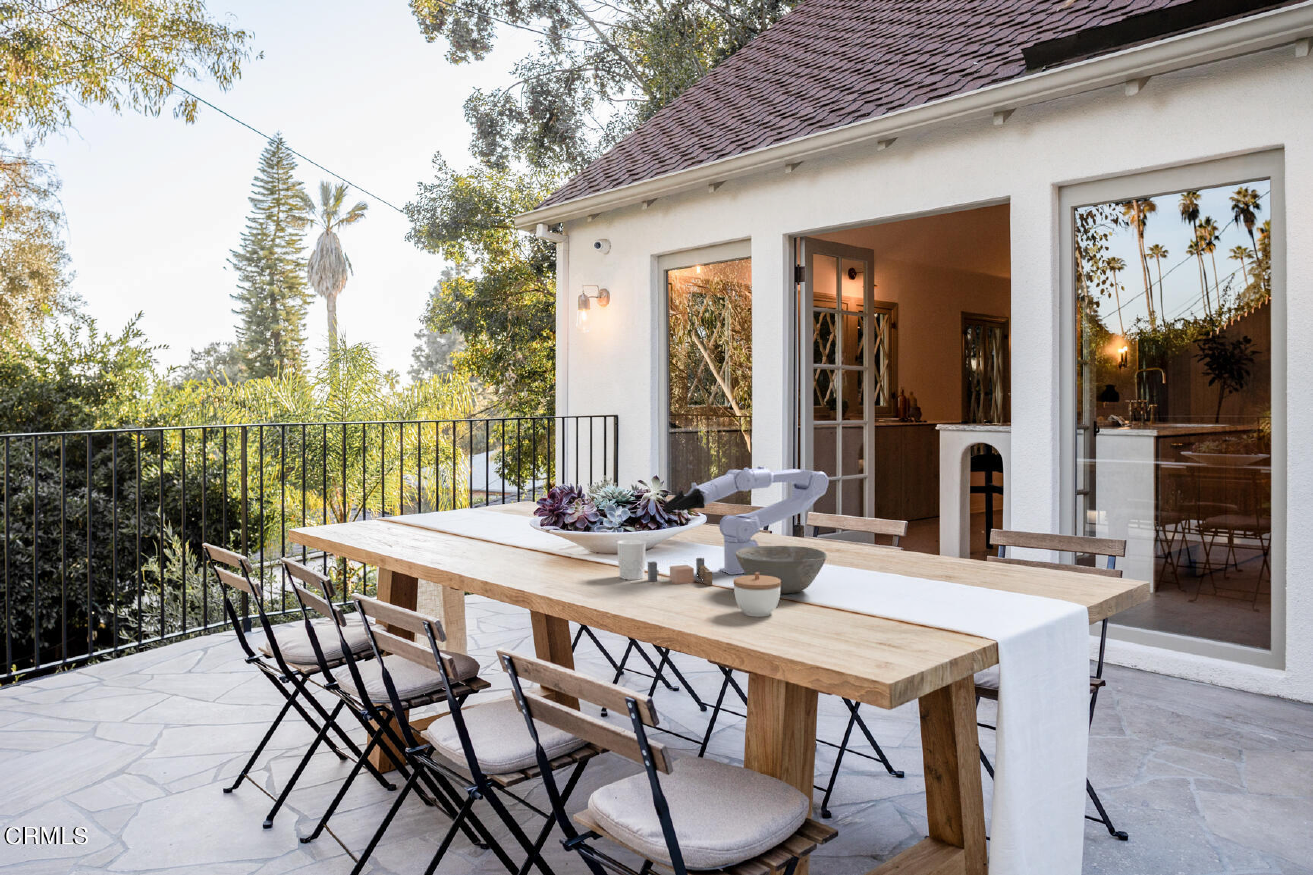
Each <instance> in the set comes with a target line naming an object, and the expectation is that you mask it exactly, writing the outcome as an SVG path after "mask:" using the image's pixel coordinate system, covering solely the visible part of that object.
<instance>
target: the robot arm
mask: <svg viewBox="0 0 1313 875" xmlns="http://www.w3.org/2000/svg"><path fill="white" fill-rule="evenodd" d="M773 483H790V484H791V485H792V491H791V497H788V498H786V499H783V500H780V501H778V502H775V503H773V504H769V505H767V506H764V507H762V508H759V509H756V510H754V511H751V512H748V513H741V514H736V515H732V514H728V515H724V516H723V517H722V518H721V520H720V521H719V526H718V527H719V532H720V533H721V535H722V536H723V540H724V541H723V549H724V550H723V551H724V552H723V553H724V556H723V557H724V563H723V564H724V565H723V566H724V567H719V568H718V569H719V571H722V572H723V573H725V572H726V573H725V574H727V573H728V575H733V576H734V575H741V574H743V573H744V574H746V573H745V572H744V570H743V569H742V567H741V565H740V563H739V561H738V559H737V557H736V555H735V552H736V551H737V550H739V549H743V548H750V547H756V546H759V544H758V541H757V540H755V539H751V538H752V537H754V536H755V535H756V534H758V533H760V529H762V528H765V527H767V526H770V525H772V524H775V523H777V522H780V521H784V520H786V519H788V518H790V517H793V516H795V515H799V514H800V513H804V512H806V511H808V510H809V509H810V508H811V507H812V506H813V505H814V503H815V502H816V501H817V500H818V499H819V498H820V497H822V496H824V495H825V494H826V492H827V490H828V487H829V477H828V475H827V474H826V473H825V472H823V471H815V470H806V469H797V468H790V469H781V470H775V471H773V470H770V469H769V468H767V467H764V466H763V465H758V466H757V468H749V467H744V468H743V469H729V470H727V472H726V473H725V475H721V476H719V477H716V478H713V479H711V480H709V481H705V482H704V483H701V484H699V485H697V483H696V482H692V483H691V488H690V489H689V491H688V492H687V493H686V494H685V493H684V491H683V490H680V491H678V492H677V493H676V495H674V497H673V498H671V499H670V500H669V501H667V502H665V503H664V504H663V508H664V511H665V512H666V513H668V512H674V511H678V512H681V511H682V512H683V511H687V510H692V509H705V508H706V505H708V504H711V503H714V502H716V501H718V500H720V499H723V498H726V497H729V496H731V495H732V494H735V493H736V492H738V491H741V492H748V491H750V490H756V489H758V490H759V489H765V488H769V487H770V486H771V485H772V484H773Z"/></svg>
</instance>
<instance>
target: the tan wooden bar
mask: <svg viewBox="0 0 1313 875" xmlns="http://www.w3.org/2000/svg"><path fill="white" fill-rule="evenodd" d="M700 578H702V579H703V581H704V582H705V583H704V582H703V581H702V582H703V583H704V584H705V585H706V586H707V587H712V586H713V571H711V570H710V569H708V567H707V566H705V564H704V565H700V577H699V579H700Z"/></svg>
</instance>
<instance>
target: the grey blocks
mask: <svg viewBox="0 0 1313 875" xmlns="http://www.w3.org/2000/svg"><path fill="white" fill-rule="evenodd" d="M695 563H696V564H695V565H696V567H695V568H696V569H695V570H696V574H695V575H696V576H697V575H698V576H700V565H704V566H705V558H704V557H696V559H695ZM659 575H660V571H659V570H658V563H657V562H656V561H647V581H649V582H658V576H659Z"/></svg>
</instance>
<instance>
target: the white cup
mask: <svg viewBox="0 0 1313 875" xmlns="http://www.w3.org/2000/svg"><path fill="white" fill-rule="evenodd" d="M616 544H617V545H616V546H617V560H618V568H619V569H618V570H619V578H620V579H621V578H622V579H621V580H625V579H627V581H638V580H641V579H644V578H645V568H646V544H647V542H646V540H644V539H621V540H618V541H617V542H616Z"/></svg>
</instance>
